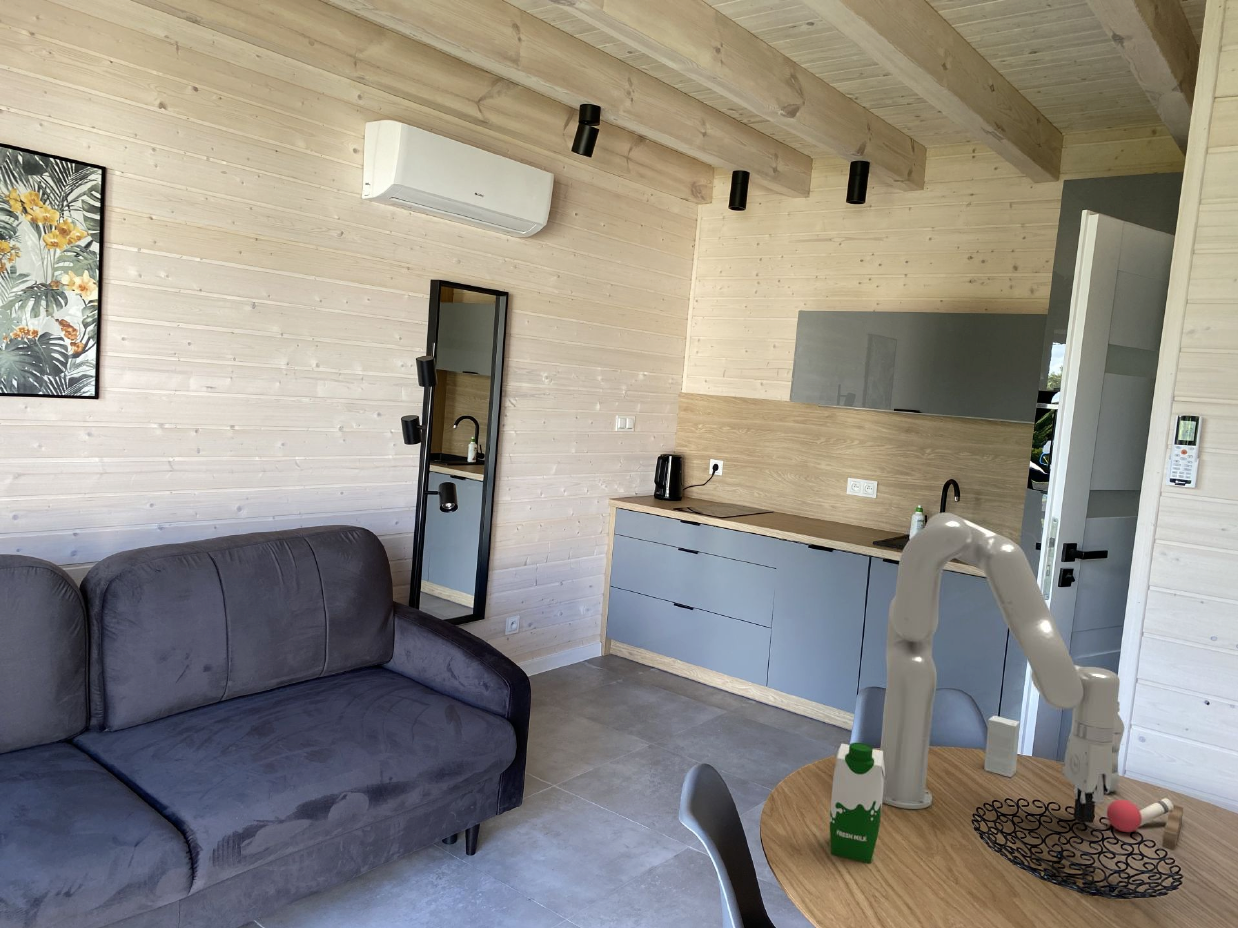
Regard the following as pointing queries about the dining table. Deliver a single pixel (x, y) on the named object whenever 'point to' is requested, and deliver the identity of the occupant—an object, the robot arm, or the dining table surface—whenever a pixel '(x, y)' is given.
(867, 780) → the milk carton
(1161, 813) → the pin
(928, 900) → the dining table surface
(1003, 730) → the skincare box
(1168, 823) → the board
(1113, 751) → the plastic bottle
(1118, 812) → the ball
